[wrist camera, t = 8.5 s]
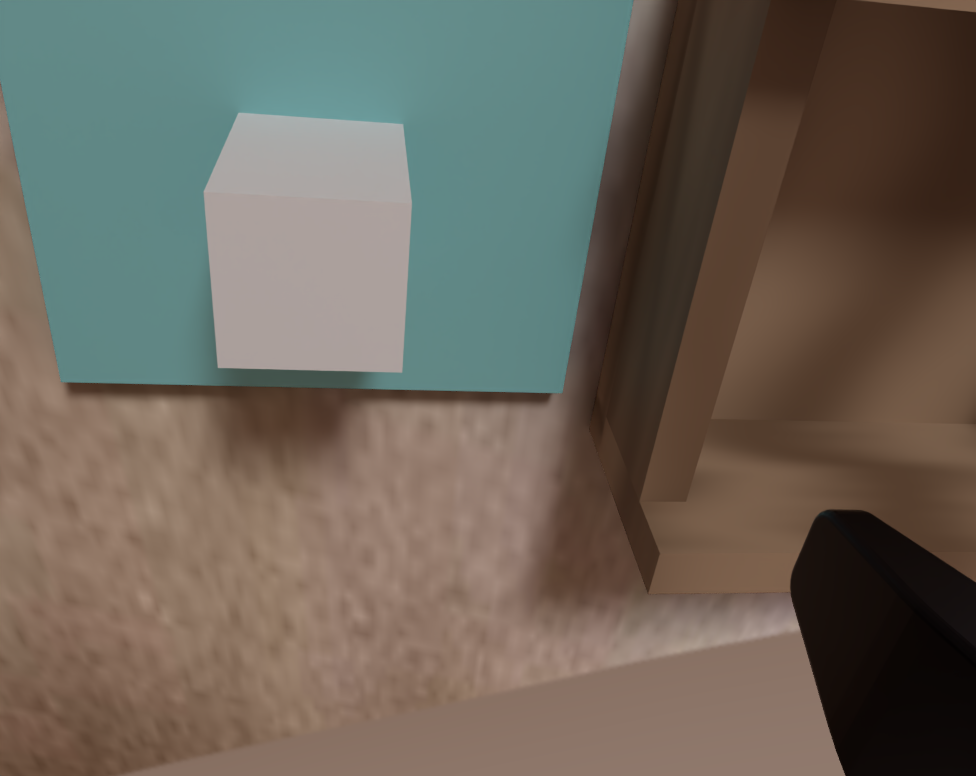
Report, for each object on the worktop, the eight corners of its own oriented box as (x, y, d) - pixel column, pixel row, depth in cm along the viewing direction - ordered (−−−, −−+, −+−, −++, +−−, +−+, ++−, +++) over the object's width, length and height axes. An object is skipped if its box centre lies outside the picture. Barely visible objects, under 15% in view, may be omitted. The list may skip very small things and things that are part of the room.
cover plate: (76, 353, 19) (-8, 507, 15) (-9, -105, 14) (-169, -72, 10) (553, 365, 21) (600, 507, 17) (622, -40, 16) (715, 12, 12)
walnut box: (589, 429, 21) (647, 594, 17) (704, -126, 15) (850, -102, 10) (983, 436, 23) (1134, 587, 19) (1242, -61, 17) (1571, -15, 12)
